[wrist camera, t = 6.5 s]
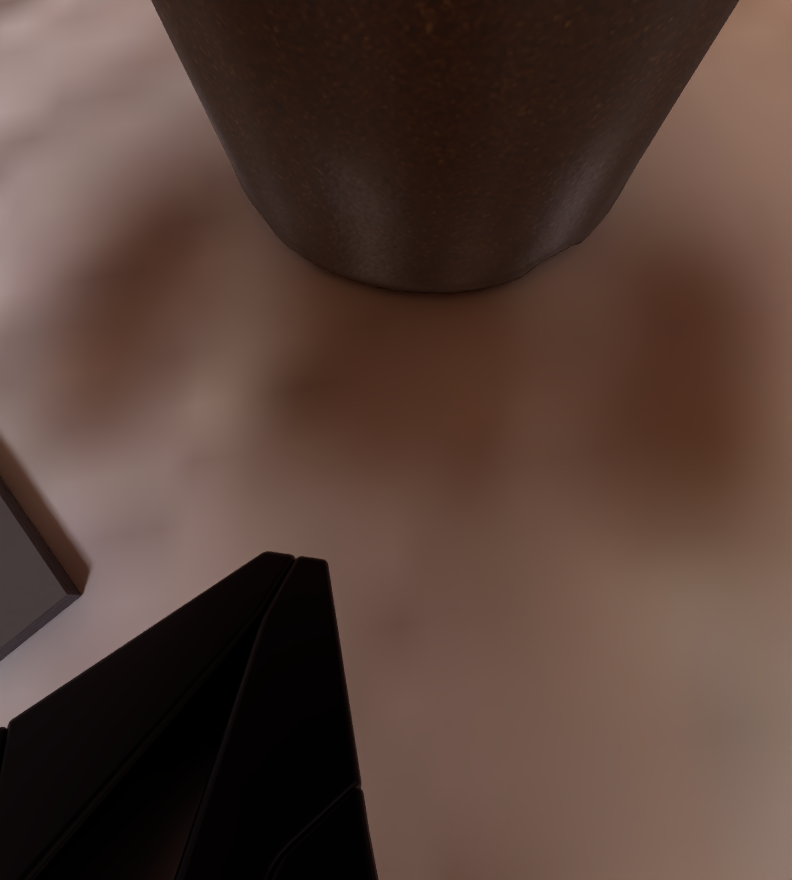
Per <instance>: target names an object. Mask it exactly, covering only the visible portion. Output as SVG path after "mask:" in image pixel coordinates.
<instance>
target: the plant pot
mask: <svg viewBox="0 0 792 880" xmlns="http://www.w3.org/2000/svg"><path fill="white" fill-rule="evenodd" d="M151 1H152V3H153V5H154V7H155V9H156V11H157V13H158V15H159V17H160V19H161V21H162V23H163V25H164V27H165V29H166V31H167V33H168V36H169V38H170V40H171V42H172V44H173V46H174V48H175V50H176V52H177V54H178V56H179V58H180V60H181V62H182V64H183V66H184V68H185V70H186V72H187V74H188V76H189V78H190V80H191V83H192V85H193V87H194V89H195V91H196V93H197V95H198V97H199V99H200V101H201V103H202V105H203V107H204V109H205V111H206V113H207V115H208V117H209V119H210V121H211V123H212V125H213V127H214V129H215V131H216V133H217V135H218V137H219V139H220V141H221V144H222V146H223V148H224V150H225V152H226V154H227V156H228V158H229V160H230V162H231V164H232V166H233V168H234V170H235V173H236V175H237V177H238V179H239V182H240V184H241V186H242V188H243V190H244V192H245V193H246V195H247V196H248V198H249V199H250V201H251V202H252V204H253V205H254V206H255V208H256V209H257V210H258V211H259V213H260V214H261V215H262V216H263V218H264V219H265V220H266V222H267V223H268V224H269V226H270V227H271V228H272V230H273V231H274V232H275V234H276V235H277V236H278V237H279V238H280V239H281V240H282V241H283V242H284V243H285V244H286V245H287V246H289V247H290V248H292V249H293V250H294V251H296V252H297V253H299V254H300V255H302V256H303V257H305V258H306V259H308V260H310V261H311V262H313V263H315V264H316V265H318V266H320V267H321V268H324V269H326V270H328V271H331V272H333V273H336V274H338V275H341V276H343V277H346V278H349V279H352V280H355V281H358V282H362V283H365V284H368V285H372V286H377V287H382V288H387V289H393V290H399V291H411V292H424V293H450V292H460V291H470V290H475V289H481V288H486V287H491V286H495V285H499V284H503V283H507V282H510V281H513V280H516V279H518V278H521V277H522V276H524V275H525V274H526V273H528V272H529V271H530V270H532V269H533V268H534V267H536V266H537V265H538V264H540V263H541V262H543V261H544V260H546V259H548V258H550V257H552V256H554V255H556V254H557V253H559V252H561V251H563V250H565V249H567V248H569V247H570V246H572V245H576V244H579V243H580V242H582V241H583V240H584V239H585V238H586V237H587V236H588V235H589V234H590V233H591V232H592V231H593V230H594V229H595V228H596V227H597V225H598V224H599V223H600V222H601V221H602V219H603V218H604V217H605V216H606V214H607V213H608V212H609V210H610V209H611V207H612V206H613V204H614V203H615V201H616V200H617V198H618V196H619V194H620V193H621V191H622V189H623V187H624V186H625V184H626V182H627V181H628V179H629V177H630V175H631V174H632V172H633V170H634V168H635V167H636V165H637V164H638V162H639V160H640V159H641V157H642V156H643V154H644V152H645V151H646V149H647V147H648V146H649V144H650V143H651V141H652V139H653V138H654V136H655V135H656V133H657V131H658V130H659V128H660V126H661V125H662V123H663V122H664V120H665V118H666V117H667V115H668V114H669V112H670V110H671V109H672V107H673V105H674V104H675V102H676V101H677V99H678V97H679V96H680V94H681V93H682V91H683V89H684V88H685V86H686V85H687V83H688V81H689V80H690V78H691V77H692V75H693V73H694V72H695V70H696V69H697V67H698V65H699V64H700V62H701V61H702V59H703V57H704V56H705V54H706V53H707V51H708V49H709V48H710V46H711V45H712V43H713V41H714V40H715V38H716V37H717V35H718V33H719V32H720V30H721V29H722V27H723V25H724V24H725V22H726V21H727V19H728V17H729V16H730V14H731V13H732V11H733V9H734V8H735V6H736V5H737V3H738V1H739V0H151Z"/></svg>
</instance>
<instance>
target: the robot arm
mask: <svg viewBox="0 0 792 880" xmlns="http://www.w3.org/2000/svg"><path fill="white" fill-rule="evenodd" d="M0 880H378V875H377V870H376V865H375V859H374V854H373V849H372V843H371V838H370V833H369V826H368V820H367V813H366V806H365V800H364V794H363V791H362V790H361V776H360V770H359V763H358V757H357V750H356V744H355V737H354V730H353V724H352V717H351V711H350V704H349V698H348V691H347V685H346V678H345V672H344V665H343V658H342V652H341V645H340V639H339V632H338V626H337V619H336V613H335V606H334V600H333V593H332V587H331V580H330V573H329V567H328V563H327V561H326V560H324V559H318V558H311V557H304V556H300V557H298V558H295V557H294V556H293V555H291V554H284V553H277V552H271V551H266V552H264V553H262V554H260V555H258V556H257V557H255V558H254V559H252V560H251V561H249V562H248V563H246V564H245V565H243V566H242V567H240V568H239V569H237V570H236V571H234V572H233V573H231V574H230V575H228V576H227V577H225V578H224V579H222V580H221V581H219V582H218V583H216V584H215V585H213V586H212V587H210V588H209V589H207V590H206V591H204V592H203V593H201V594H200V595H198V596H197V597H195V598H194V599H192V600H191V601H189V602H188V603H186V604H185V605H183V606H182V607H180V608H179V609H177V610H176V611H174V612H173V613H171V614H170V615H168V616H167V617H165V618H164V619H162V620H161V621H159V622H158V623H156V624H155V625H153V626H152V627H150V628H149V629H147V630H146V631H144V632H143V633H141V634H140V635H138V636H137V637H135V638H134V639H132V640H131V641H129V642H128V643H126V644H125V645H123V646H122V647H120V648H119V649H117V650H116V651H114V652H113V653H111V654H110V655H108V656H107V657H105V658H104V659H102V660H101V661H99V662H98V663H96V664H95V665H93V666H92V667H90V668H89V669H87V670H86V671H84V672H83V673H81V674H80V675H78V676H77V677H75V678H74V679H72V680H71V681H69V682H68V683H66V684H65V685H63V686H62V687H60V688H59V689H57V690H56V691H54V692H53V693H51V694H50V695H48V696H47V697H45V698H44V699H42V700H41V701H39V702H38V703H36V704H35V705H33V706H32V707H30V708H29V709H27V710H26V711H24V712H23V713H21V714H20V715H18V716H17V717H15V718H14V719H12V720H11V721H10V722H9V724H8V727H7V728H5V727H0Z"/></svg>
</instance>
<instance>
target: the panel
mask: <svg viewBox="0 0 792 880" xmlns="http://www.w3.org/2000/svg"><path fill="white" fill-rule="evenodd" d="M80 596H81V594H80V593H79V591H78V590H77V588H76V587H75V585H74V584H73V582H72V581H71V579H70V578H69V576H68V575H67V574H66V572H65V571H64V569H63V568H62V566H61V565H60V563H59V562H58V560H57V559H56V557H55V556H54V554H53V553H52V552H51V550H50V549H49V547H48V546H47V544H46V543H45V541H44V540H43V538H42V537H41V535H40V534H39V533H38V531H37V530H36V528H35V527H34V525H33V524H32V522H31V521H30V519H29V518H28V516H27V515H26V513H25V512H24V511H23V509H22V508H21V506H20V505H19V503H18V502H17V500H16V499H15V497H14V496H13V494H12V493H11V491H10V490H9V489H8V487H7V486H6V484H5V483H4V481H3V480H2V478H1V477H0V661H1V660H2V659H3V658H5V657H6V656H7V655H8V654H10V653H11V652H12V651H13V650H15V649H16V648H17V647H18V646H19V645H21V644H22V643H23V642H24V641H26V640H27V639H28V638H29V637H31V636H32V635H33V634H34V633H36V632H37V631H38V630H39V629H41V628H42V627H43V626H44V625H46V624H47V623H48V622H49V621H51V620H52V619H53V618H54V617H56V616H57V615H58V614H59V613H60V612H62V611H63V610H64V609H65V608H67V607H68V606H69V605H70V604H72V603H73V602H74V601H75V600H77V599H78V598H79V597H80Z"/></svg>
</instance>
